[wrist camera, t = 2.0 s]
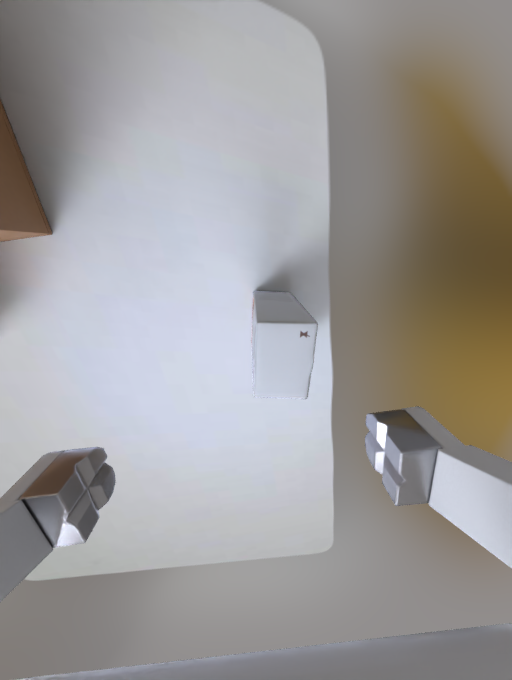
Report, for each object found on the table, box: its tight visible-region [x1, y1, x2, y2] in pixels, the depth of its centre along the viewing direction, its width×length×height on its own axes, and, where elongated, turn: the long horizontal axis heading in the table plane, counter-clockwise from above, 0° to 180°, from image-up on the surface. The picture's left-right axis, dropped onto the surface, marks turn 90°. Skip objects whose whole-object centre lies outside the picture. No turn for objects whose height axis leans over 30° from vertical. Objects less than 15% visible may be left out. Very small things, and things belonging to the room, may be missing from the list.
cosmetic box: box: [252, 291, 318, 399], centre depth 23 cm, size 6×4×12 cm
